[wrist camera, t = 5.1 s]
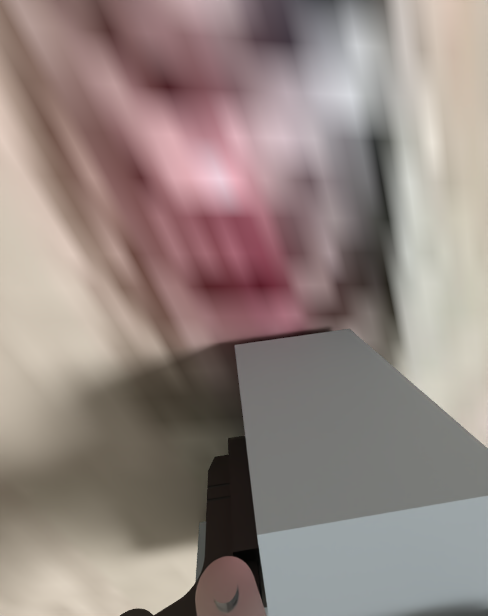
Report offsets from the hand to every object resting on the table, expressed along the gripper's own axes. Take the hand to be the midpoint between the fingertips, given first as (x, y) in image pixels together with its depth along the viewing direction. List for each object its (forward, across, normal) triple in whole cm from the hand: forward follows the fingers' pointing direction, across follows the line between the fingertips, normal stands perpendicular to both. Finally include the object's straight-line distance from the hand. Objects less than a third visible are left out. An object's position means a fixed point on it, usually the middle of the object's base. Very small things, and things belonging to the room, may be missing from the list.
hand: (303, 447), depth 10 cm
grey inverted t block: (+1, 0, 0) cm, 1 cm away
